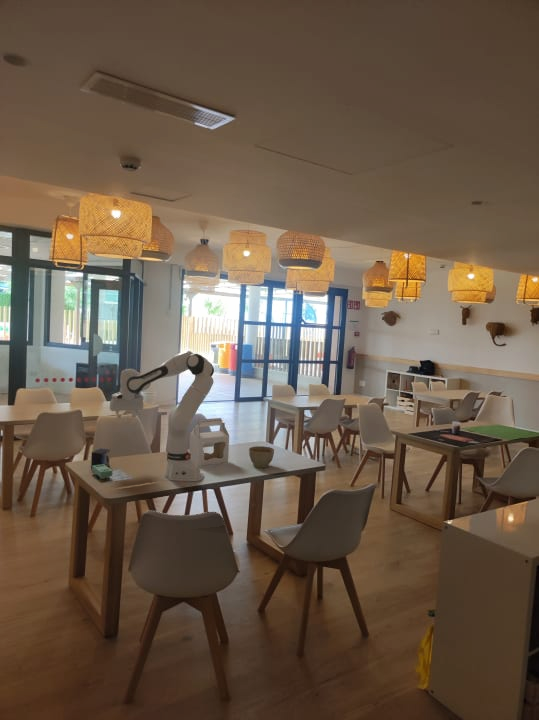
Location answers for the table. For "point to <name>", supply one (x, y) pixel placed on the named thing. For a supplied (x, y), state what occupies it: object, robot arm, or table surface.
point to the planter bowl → (261, 456)
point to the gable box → (209, 437)
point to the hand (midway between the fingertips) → (126, 417)
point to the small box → (100, 457)
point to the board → (102, 470)
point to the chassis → (113, 476)
